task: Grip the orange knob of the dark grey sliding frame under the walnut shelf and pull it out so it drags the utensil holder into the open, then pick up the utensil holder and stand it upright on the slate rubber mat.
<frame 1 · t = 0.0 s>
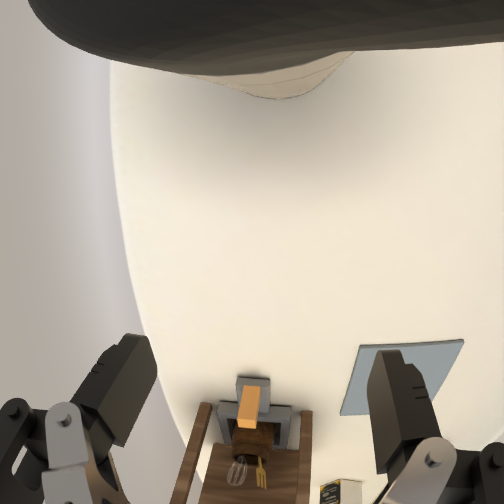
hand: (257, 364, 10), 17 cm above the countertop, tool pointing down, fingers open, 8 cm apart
walnut shelf: (256, 420, 40), on the countertop
medicine bottle: (340, 483, 52), on the countertop
slate mat: (399, 381, 33), on the countertop
utensil holder: (256, 419, 40), resting in sliding frame
sliding frame: (252, 429, 36), point 3 cm above the countertop, slide at 0.0 cm
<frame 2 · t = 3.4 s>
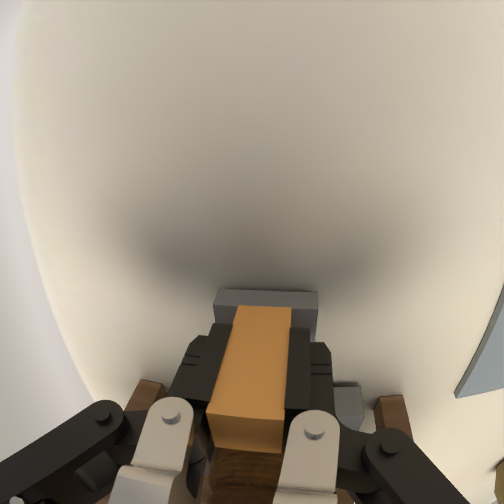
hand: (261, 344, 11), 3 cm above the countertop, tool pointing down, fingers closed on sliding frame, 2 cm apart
walnut shelf: (268, 427, 17), on the countertop
utensil holder: (268, 424, 17), resting in sliding frame
sliding frame: (261, 450, 13), point 3 cm above the countertop, slide at 0.0 cm, touching gripper
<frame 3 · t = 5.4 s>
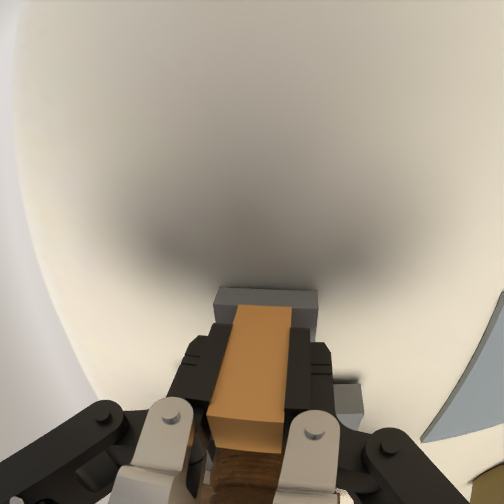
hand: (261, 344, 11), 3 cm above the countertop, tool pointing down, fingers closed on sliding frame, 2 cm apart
utensil holder: (268, 426, 18), resting in sliding frame
squeeze bottle: (489, 471, 23), on the countertop
sliding frame: (262, 447, 13), point 3 cm above the countertop, slide at 6.4 cm, touching gripper, utensil holder
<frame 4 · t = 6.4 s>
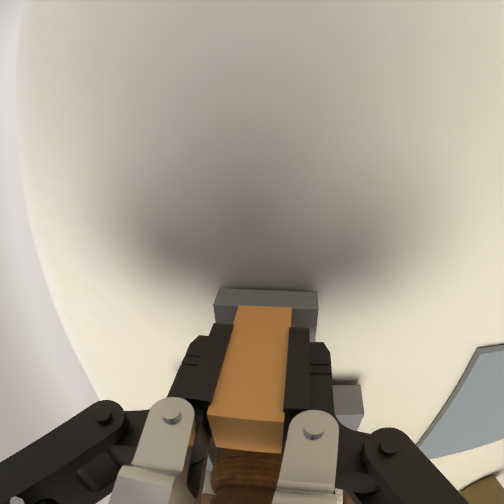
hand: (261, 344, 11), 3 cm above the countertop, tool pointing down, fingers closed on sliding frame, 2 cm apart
slate mat: (503, 402, 15), on the countertop
utensil holder: (268, 427, 18), resting in sliding frame
squeeze bottle: (477, 482, 25), on the countertop
sliding frame: (262, 448, 13), point 3 cm above the countertop, slide at 10.2 cm, touching gripper, utensil holder
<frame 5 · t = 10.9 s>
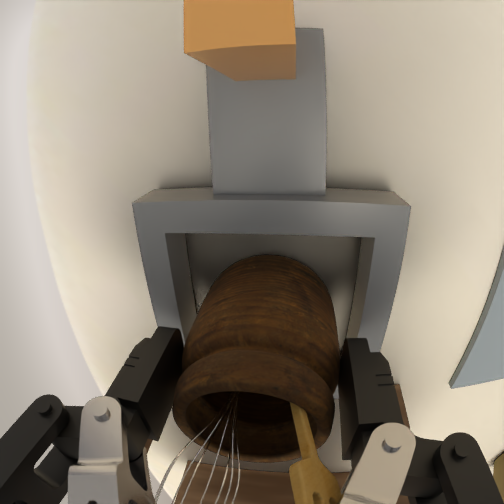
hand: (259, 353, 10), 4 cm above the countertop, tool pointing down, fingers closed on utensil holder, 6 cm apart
walnut shelf: (271, 416, 18), on the countertop
utensil holder: (272, 301, 14), resting in sliding frame, touching gripper
sliding frame: (264, 268, 10), point 3 cm above the countertop, slide at 10.3 cm, touching utensil holder
when the fingers open (6 cm above the countertop, at t = 16.7 s): utensil holder drops 1 cm, resting on slate mat.
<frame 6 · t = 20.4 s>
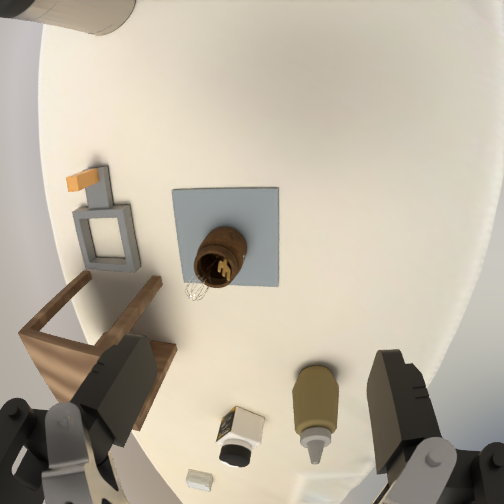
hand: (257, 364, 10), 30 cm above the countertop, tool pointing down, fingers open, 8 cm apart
walnut shelf: (123, 291, 48), on the countertop
medicine bottle: (243, 417, 59), on the countertop
slate mat: (226, 238, 41), on the countertop
utensil holder: (227, 244, 41), resting on slate mat
squeeze bottle: (315, 374, 50), on the countertop
sliding frame: (94, 225, 39), point 3 cm above the countertop, slide at 10.2 cm
small box: (201, 474, 80), on the countertop
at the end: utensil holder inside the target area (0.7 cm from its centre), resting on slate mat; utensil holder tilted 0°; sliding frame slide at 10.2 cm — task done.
